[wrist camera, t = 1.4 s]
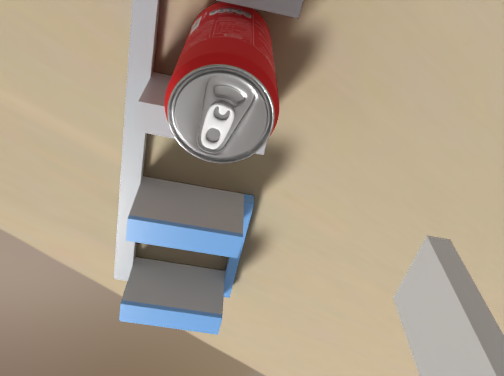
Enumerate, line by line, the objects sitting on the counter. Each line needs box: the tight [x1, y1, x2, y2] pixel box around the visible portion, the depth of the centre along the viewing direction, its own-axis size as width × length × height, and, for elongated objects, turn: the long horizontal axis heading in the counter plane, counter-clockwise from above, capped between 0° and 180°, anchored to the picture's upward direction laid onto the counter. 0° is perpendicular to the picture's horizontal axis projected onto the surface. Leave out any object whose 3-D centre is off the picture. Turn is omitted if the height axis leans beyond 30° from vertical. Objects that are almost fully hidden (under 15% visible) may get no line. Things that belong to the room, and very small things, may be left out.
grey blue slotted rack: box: [114, 0, 303, 334], centre depth 33 cm, size 28×10×5 cm, turn 168°
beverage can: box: [165, 2, 279, 164], centre depth 25 cm, size 5×5×12 cm
